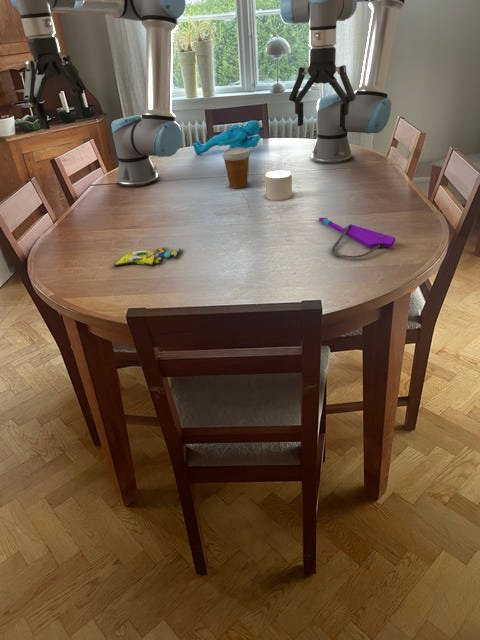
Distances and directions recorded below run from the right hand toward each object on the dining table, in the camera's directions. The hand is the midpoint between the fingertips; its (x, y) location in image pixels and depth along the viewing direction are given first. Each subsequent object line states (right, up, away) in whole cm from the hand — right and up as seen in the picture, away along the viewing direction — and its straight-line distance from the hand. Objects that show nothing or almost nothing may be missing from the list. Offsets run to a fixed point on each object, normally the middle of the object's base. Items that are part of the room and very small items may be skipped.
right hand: (320, 126), depth 148 cm
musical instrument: (+2, -40, -24) cm, 47 cm away
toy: (-30, +14, +63) cm, 71 cm away
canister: (-12, -19, +10) cm, 25 cm away
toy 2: (-49, -44, -23) cm, 70 cm away
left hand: (-75, -4, -12) cm, 76 cm away
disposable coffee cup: (-26, -13, +22) cm, 36 cm away
